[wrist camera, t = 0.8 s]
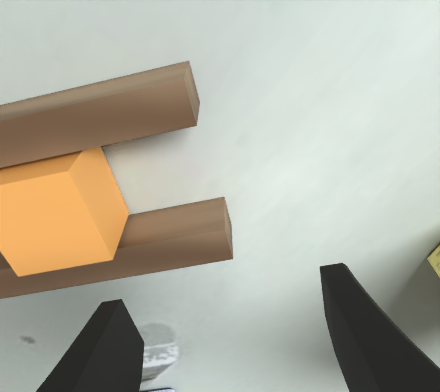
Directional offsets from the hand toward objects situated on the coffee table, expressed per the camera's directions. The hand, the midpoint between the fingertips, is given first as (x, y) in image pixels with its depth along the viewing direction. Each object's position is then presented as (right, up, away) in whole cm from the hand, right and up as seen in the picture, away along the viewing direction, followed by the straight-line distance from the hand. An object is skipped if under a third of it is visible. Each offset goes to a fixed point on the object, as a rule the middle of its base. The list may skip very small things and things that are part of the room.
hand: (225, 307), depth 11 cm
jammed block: (-8, +4, +10) cm, 13 cm away
